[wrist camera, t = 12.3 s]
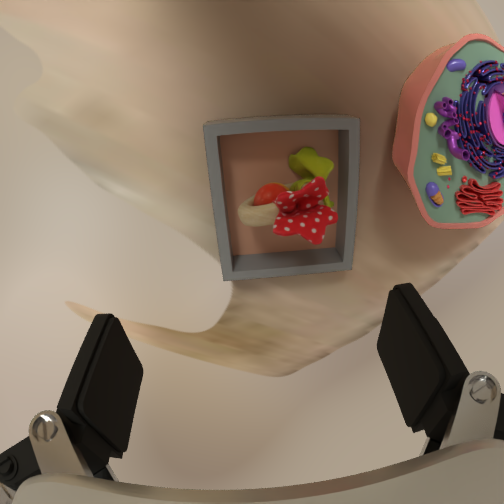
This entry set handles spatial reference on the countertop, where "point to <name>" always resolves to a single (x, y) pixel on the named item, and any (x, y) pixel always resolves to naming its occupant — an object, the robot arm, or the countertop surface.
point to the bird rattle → (295, 200)
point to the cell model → (454, 134)
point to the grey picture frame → (277, 170)
